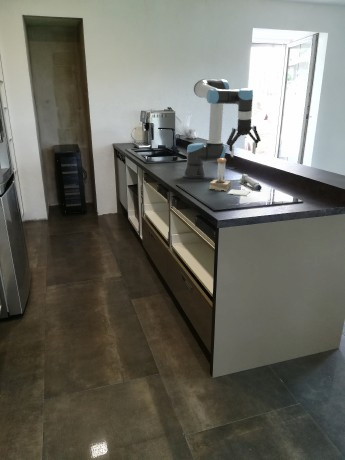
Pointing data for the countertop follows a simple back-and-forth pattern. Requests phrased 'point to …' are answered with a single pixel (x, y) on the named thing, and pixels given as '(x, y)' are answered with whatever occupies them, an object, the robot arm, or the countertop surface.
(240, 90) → the robot arm
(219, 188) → the bore block
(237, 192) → the rubber mat
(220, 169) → the steel plug
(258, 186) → the toothbrush head
